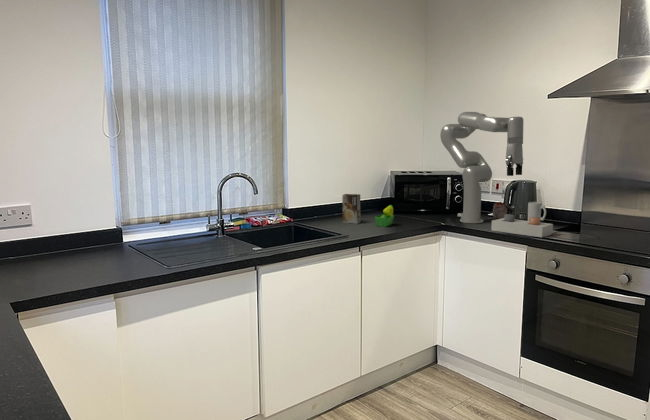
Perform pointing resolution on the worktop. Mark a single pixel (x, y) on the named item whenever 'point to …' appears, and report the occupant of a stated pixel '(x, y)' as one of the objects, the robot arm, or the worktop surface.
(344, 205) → the coffee box
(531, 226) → the button panel
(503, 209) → the food item
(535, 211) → the mug
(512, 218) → the charcoal button
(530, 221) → the terracotta button
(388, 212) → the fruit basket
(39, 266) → the worktop surface
